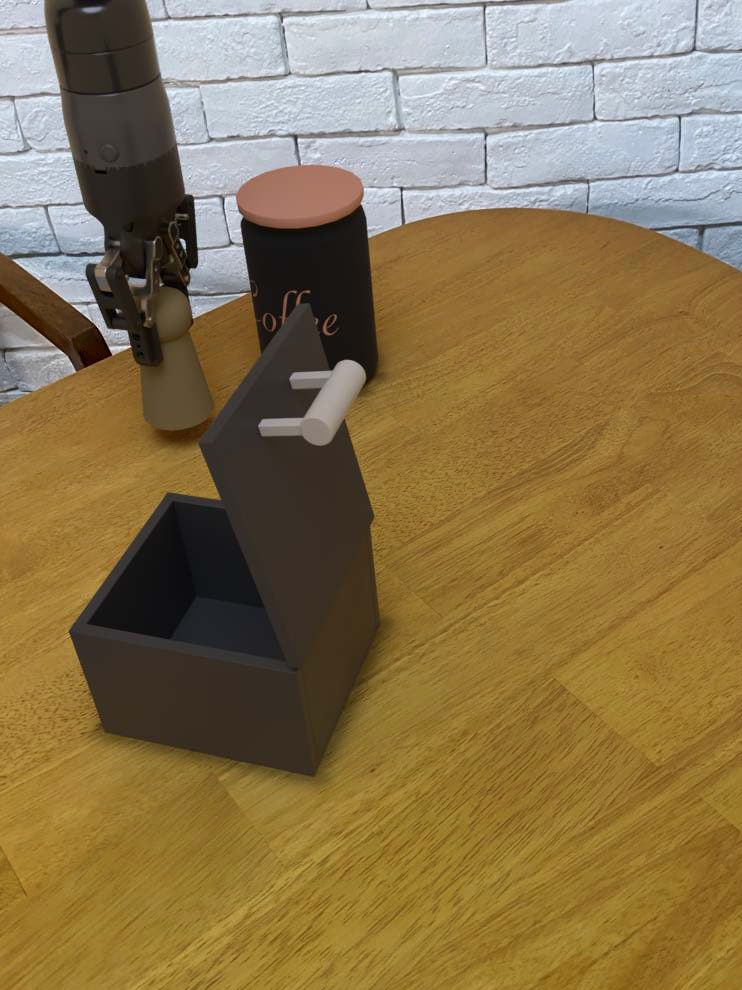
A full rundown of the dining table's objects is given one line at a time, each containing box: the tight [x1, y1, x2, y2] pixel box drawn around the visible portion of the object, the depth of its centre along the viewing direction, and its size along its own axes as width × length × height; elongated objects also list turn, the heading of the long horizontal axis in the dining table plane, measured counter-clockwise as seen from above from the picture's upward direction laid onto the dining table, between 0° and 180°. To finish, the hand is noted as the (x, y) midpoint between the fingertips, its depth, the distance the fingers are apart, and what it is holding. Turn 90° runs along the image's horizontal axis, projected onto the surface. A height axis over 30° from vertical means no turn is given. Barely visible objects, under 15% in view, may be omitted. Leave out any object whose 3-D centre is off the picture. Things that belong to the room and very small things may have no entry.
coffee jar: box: [235, 164, 379, 387], centre depth 99 cm, size 11×11×18 cm
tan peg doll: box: [133, 285, 215, 431], centre depth 93 cm, size 6×6×11 cm
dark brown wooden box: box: [68, 491, 381, 778], centre depth 74 cm, size 15×14×10 cm
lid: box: [197, 303, 376, 668], centre depth 63 cm, size 16×14×5 cm
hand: (165, 344), depth 92 cm, fingers closed on tan peg doll, 5 cm apart
